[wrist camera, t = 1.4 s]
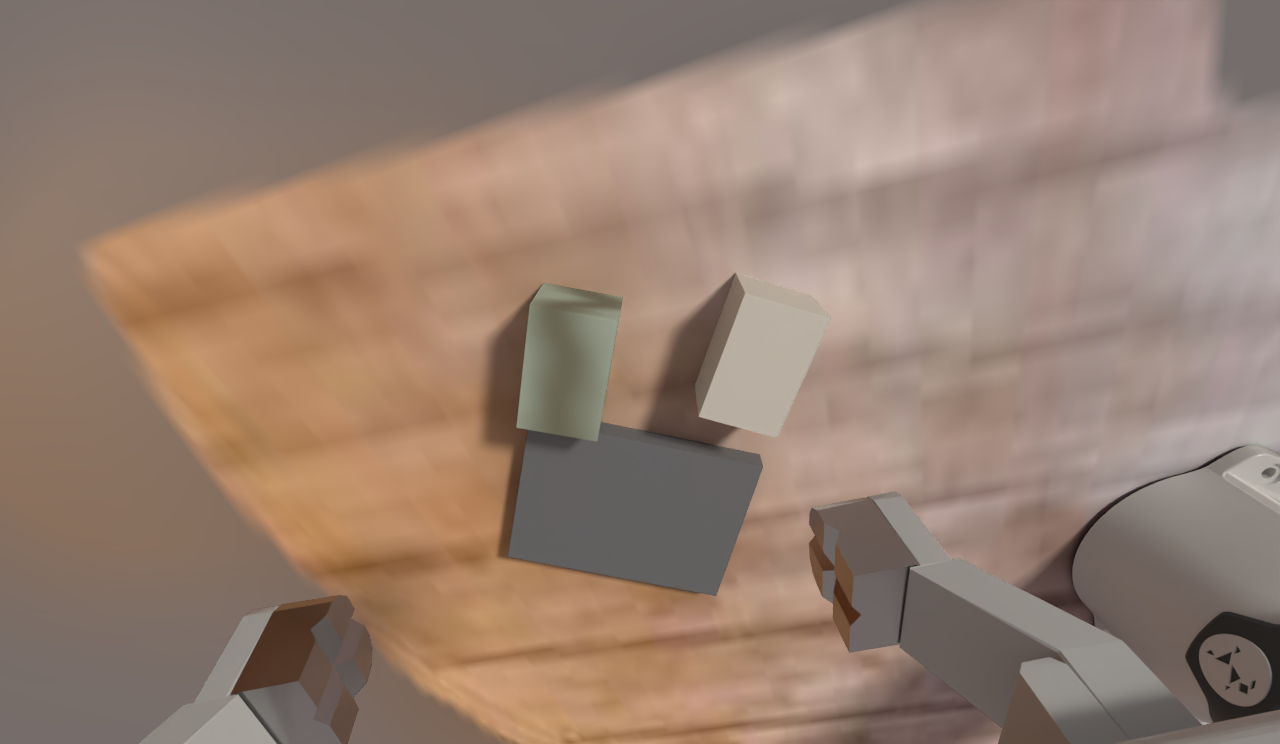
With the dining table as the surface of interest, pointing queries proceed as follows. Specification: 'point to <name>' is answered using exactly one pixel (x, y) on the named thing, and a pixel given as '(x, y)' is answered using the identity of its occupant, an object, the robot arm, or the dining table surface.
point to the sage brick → (567, 361)
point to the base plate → (633, 506)
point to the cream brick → (759, 355)
